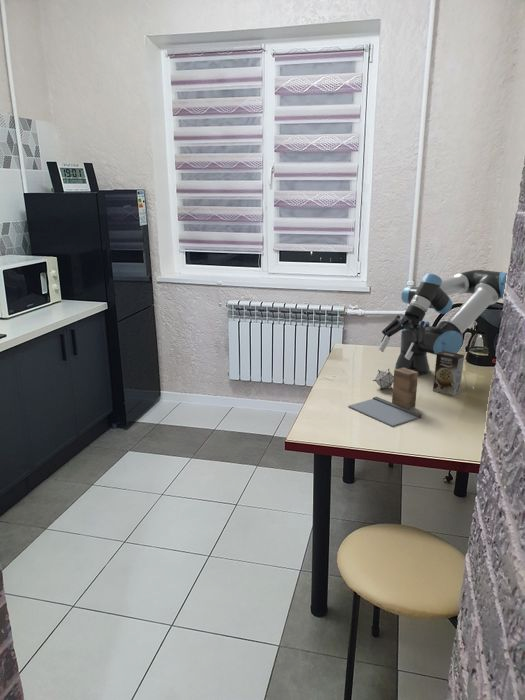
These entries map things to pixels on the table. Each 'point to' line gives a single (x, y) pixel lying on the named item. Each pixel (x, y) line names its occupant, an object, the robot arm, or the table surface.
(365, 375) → the table surface
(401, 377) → the walnut block
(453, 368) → the coffee box
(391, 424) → the grey flat panel
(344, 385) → the table surface
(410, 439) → the table surface
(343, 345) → the table surface
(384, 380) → the game die
